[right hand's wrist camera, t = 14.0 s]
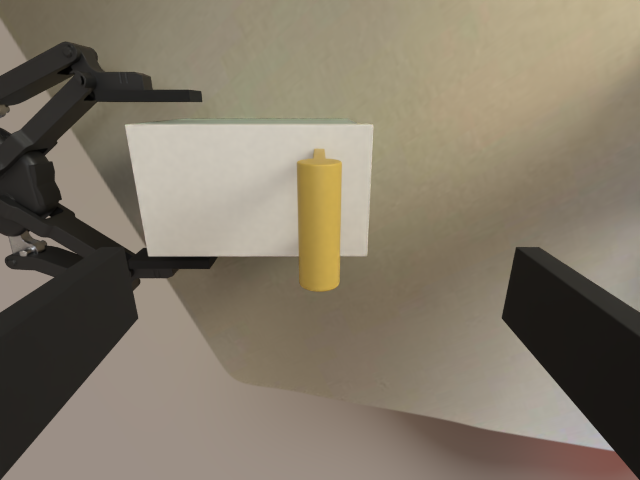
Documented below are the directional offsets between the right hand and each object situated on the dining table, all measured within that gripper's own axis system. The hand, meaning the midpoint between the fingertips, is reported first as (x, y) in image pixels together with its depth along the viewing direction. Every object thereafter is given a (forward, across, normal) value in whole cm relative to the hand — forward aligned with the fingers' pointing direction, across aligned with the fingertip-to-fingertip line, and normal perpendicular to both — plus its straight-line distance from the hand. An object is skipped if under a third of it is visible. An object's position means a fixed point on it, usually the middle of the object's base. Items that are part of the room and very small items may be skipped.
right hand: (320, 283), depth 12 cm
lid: (+15, -5, 0) cm, 15 cm away
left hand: (+17, -9, 0) cm, 19 cm away
